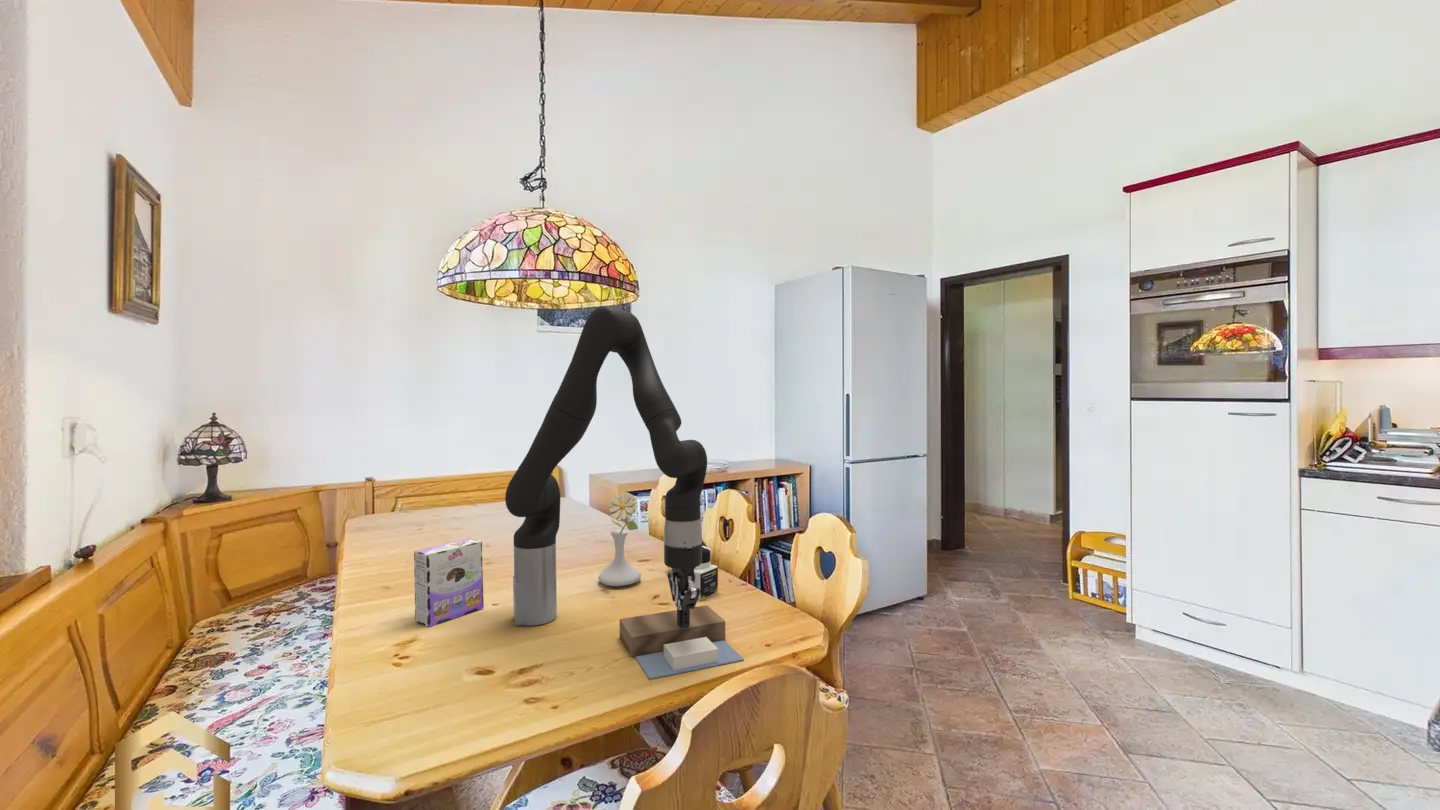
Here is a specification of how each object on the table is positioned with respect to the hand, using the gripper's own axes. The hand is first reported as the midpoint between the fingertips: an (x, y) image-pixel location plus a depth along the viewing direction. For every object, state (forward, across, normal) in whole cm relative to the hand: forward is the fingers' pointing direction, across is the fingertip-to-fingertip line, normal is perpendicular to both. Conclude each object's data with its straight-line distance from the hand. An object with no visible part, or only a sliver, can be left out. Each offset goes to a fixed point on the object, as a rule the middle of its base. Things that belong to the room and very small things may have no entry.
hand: (683, 626), depth 121 cm
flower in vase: (+5, -46, -1) cm, 46 cm away
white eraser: (+2, +4, 0) cm, 5 cm away
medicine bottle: (+5, -30, +15) cm, 34 cm away
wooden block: (+5, -7, 0) cm, 8 cm away
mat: (+5, +4, 0) cm, 6 cm away
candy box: (+5, -40, -43) cm, 59 cm away
